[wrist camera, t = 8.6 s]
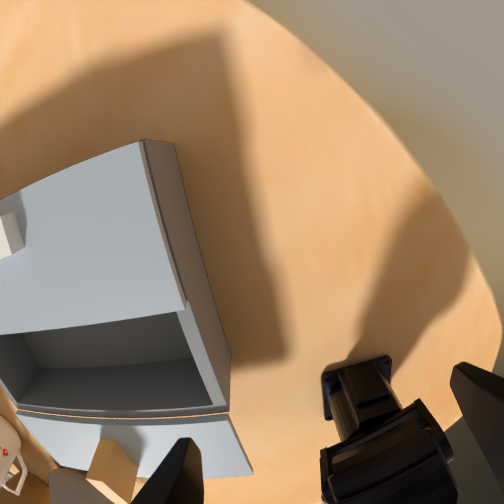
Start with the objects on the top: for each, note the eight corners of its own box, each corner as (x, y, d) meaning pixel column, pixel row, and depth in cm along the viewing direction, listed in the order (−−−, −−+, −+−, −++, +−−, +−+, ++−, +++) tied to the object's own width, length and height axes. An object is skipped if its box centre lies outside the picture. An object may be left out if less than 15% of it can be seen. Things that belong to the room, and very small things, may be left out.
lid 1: (186, 303, 14) (180, 323, 13) (-30, 333, 15) (-42, 344, 13) (142, 141, 12) (127, 140, 10) (-66, 242, 12) (-80, 250, 11)
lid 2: (253, 469, 19) (255, 515, 15) (62, 461, 20) (49, 493, 15) (228, 413, 17) (226, 473, 12) (17, 410, 17) (-4, 443, 13)
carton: (230, 355, 23) (229, 411, 17) (43, 371, 23) (17, 408, 17) (173, 143, 17) (144, 139, 12) (-21, 221, 18) (-66, 241, 12)
